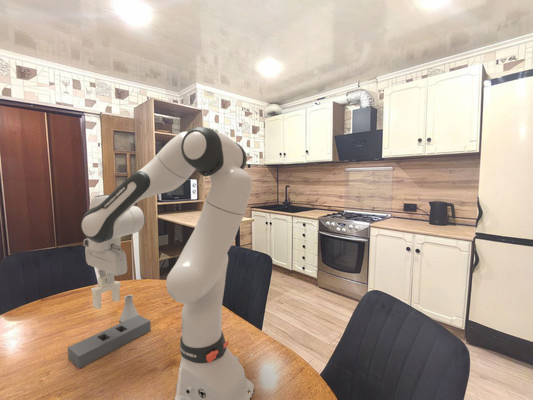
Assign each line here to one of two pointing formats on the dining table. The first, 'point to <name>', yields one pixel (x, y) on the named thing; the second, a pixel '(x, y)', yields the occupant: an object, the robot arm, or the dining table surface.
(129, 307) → the flask
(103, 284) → the clip
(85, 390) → the dining table surface
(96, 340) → the rail
